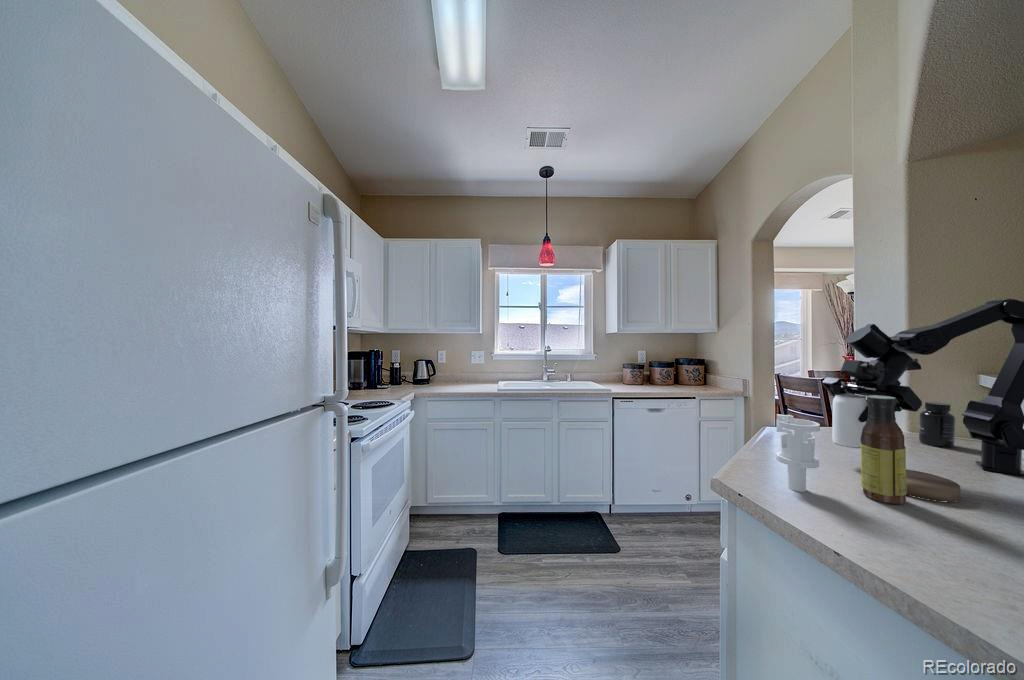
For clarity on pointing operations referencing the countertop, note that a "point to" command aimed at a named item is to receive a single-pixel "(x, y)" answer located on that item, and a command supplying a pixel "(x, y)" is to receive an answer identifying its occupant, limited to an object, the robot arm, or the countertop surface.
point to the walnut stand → (931, 487)
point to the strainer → (797, 449)
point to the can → (848, 419)
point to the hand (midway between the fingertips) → (845, 417)
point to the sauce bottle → (883, 453)
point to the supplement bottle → (937, 425)
